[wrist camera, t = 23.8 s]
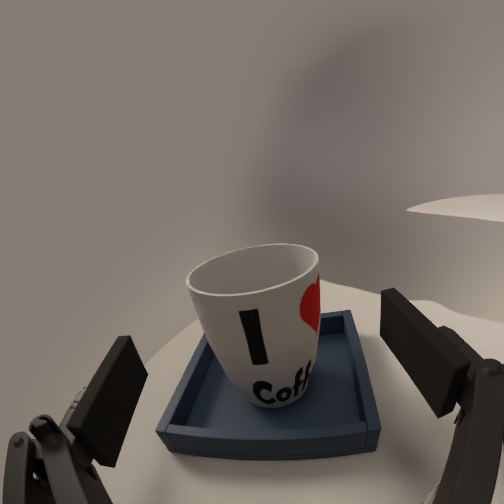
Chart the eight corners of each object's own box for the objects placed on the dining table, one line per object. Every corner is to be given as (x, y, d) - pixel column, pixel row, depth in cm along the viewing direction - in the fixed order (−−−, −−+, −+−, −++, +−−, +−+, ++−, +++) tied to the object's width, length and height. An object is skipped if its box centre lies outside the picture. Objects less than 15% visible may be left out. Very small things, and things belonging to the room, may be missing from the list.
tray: (169, 451, 15) (154, 430, 15) (215, 344, 28) (208, 323, 27) (375, 450, 13) (381, 428, 12) (350, 332, 26) (350, 309, 25)
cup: (254, 442, 15) (213, 313, 12) (208, 378, 22) (172, 269, 19) (349, 384, 18) (347, 257, 16) (288, 341, 25) (271, 237, 23)
